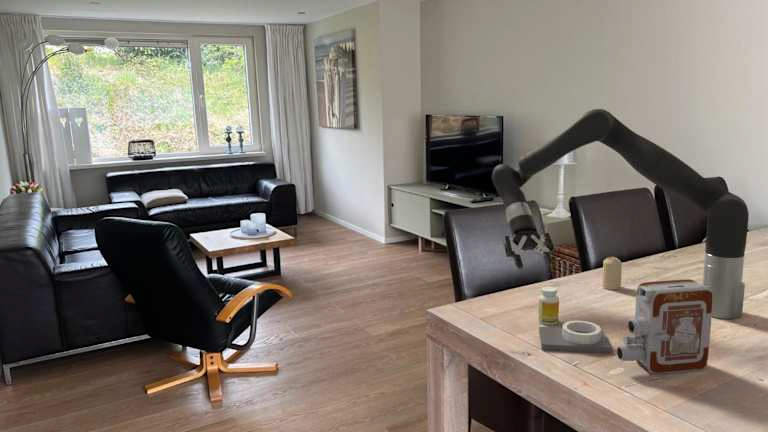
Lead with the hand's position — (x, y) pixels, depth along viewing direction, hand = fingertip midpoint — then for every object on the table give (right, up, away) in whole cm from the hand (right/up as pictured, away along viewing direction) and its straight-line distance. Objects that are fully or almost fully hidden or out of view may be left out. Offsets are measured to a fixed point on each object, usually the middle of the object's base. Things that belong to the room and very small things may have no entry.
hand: (535, 266), depth 163 cm
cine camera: (+19, -20, -35) cm, 44 cm away
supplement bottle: (+2, -15, -7) cm, 17 cm away
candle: (+30, -9, +18) cm, 36 cm away
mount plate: (+4, -17, -20) cm, 27 cm away
